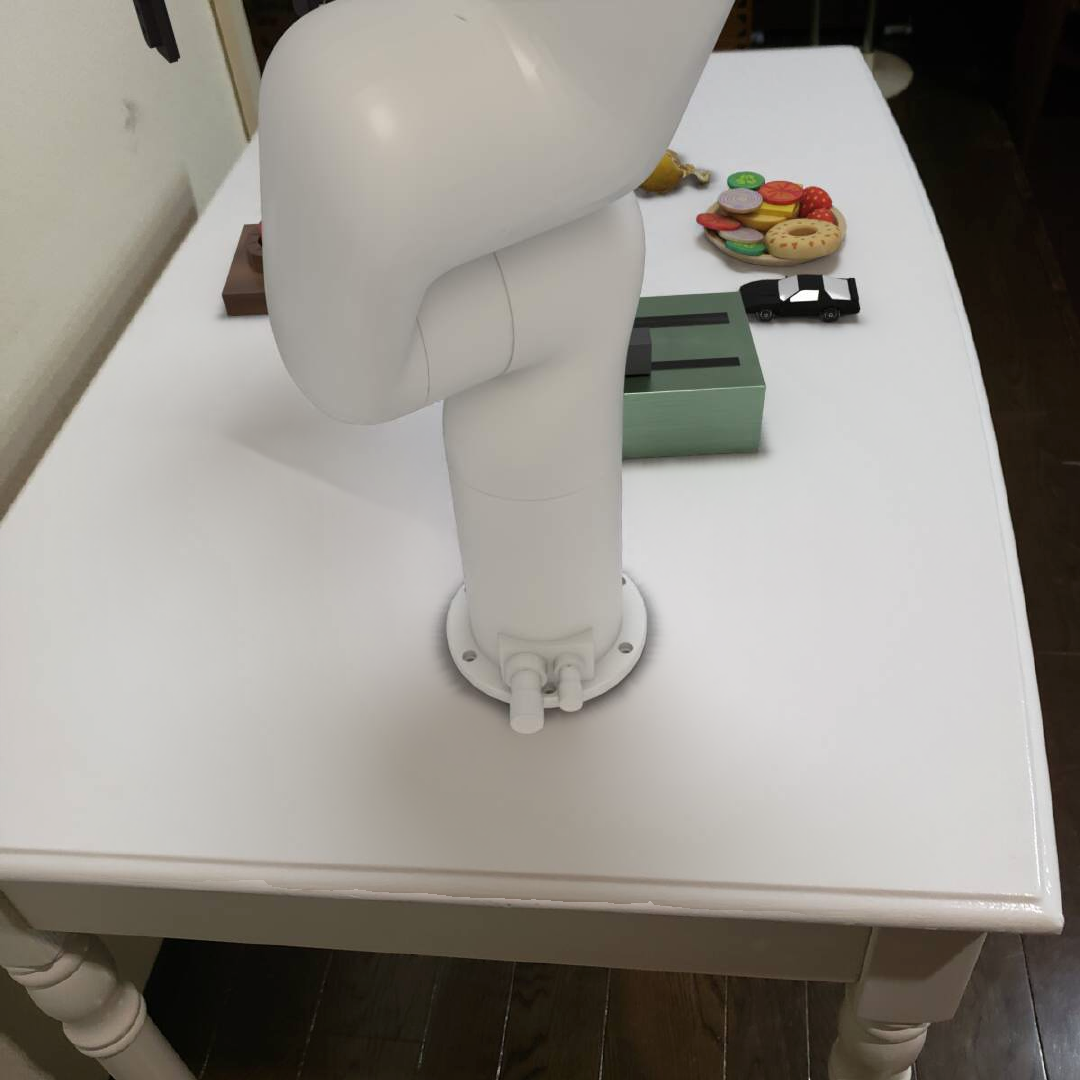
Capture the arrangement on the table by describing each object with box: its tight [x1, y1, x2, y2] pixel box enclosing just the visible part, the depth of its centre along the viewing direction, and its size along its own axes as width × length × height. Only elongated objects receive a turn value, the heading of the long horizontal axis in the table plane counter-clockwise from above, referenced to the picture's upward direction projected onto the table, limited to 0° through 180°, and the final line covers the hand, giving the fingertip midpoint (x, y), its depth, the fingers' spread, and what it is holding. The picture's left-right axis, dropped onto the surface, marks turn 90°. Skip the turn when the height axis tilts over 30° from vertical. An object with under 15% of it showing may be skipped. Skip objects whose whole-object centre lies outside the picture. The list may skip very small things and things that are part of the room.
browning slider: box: [625, 327, 652, 375], centre depth 79 cm, size 2×2×3 cm
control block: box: [221, 223, 268, 317], centre depth 101 cm, size 12×10×4 cm
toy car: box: [738, 273, 861, 323], centre depth 93 cm, size 10×4×3 cm, turn 85°
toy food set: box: [695, 170, 848, 267], centre depth 102 cm, size 13×13×3 cm
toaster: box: [622, 290, 767, 460], centre depth 84 cm, size 12×12×6 cm
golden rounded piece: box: [637, 148, 711, 195], centre depth 110 cm, size 8×8×4 cm
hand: (240, 37), depth 73 cm, fingers open, 9 cm apart
